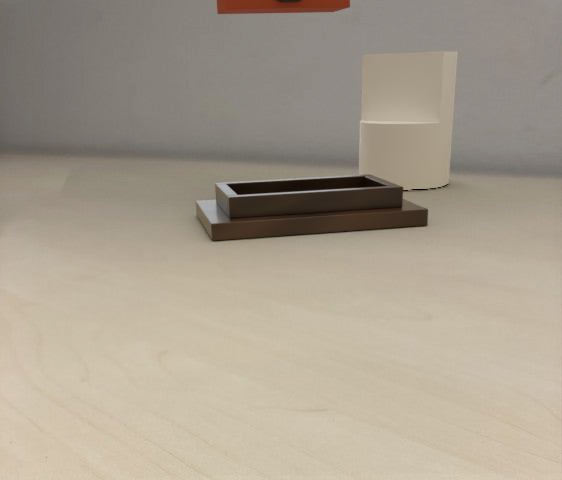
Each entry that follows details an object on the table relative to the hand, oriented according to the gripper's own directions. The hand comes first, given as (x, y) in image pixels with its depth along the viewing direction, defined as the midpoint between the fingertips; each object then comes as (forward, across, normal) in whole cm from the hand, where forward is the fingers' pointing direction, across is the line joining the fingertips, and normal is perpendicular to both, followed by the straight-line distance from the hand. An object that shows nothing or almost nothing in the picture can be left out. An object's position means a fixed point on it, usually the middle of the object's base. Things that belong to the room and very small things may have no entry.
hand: (282, 3), depth 57 cm
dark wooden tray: (+16, +9, -1) cm, 18 cm away
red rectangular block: (0, 0, 0) cm, 1 cm away
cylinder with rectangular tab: (+16, -6, +14) cm, 22 cm away
